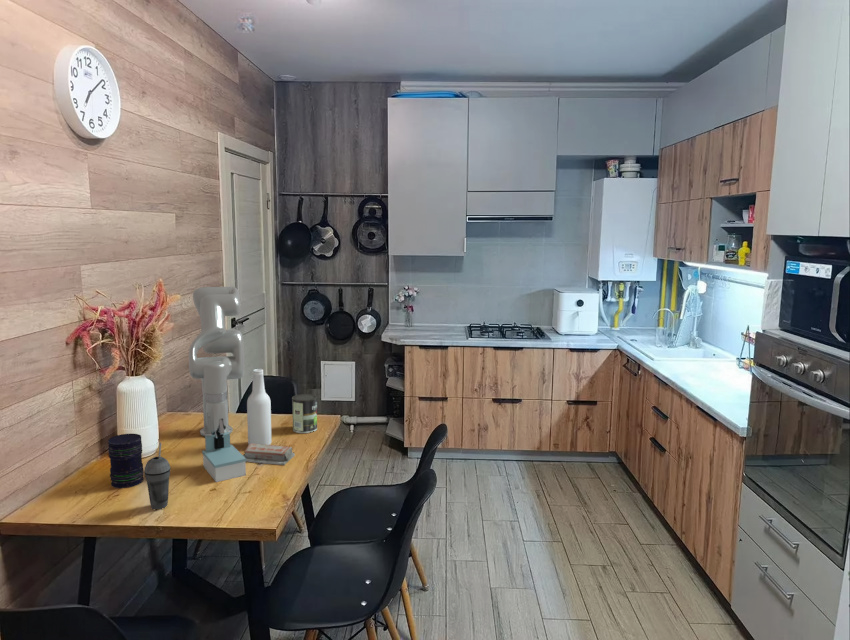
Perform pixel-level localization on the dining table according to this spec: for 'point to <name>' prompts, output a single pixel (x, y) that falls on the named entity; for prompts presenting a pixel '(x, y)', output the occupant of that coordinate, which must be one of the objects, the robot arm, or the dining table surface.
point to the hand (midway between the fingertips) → (217, 446)
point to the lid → (222, 452)
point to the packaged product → (268, 454)
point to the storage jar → (126, 460)
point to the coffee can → (304, 413)
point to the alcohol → (259, 412)
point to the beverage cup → (158, 481)
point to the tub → (224, 470)
